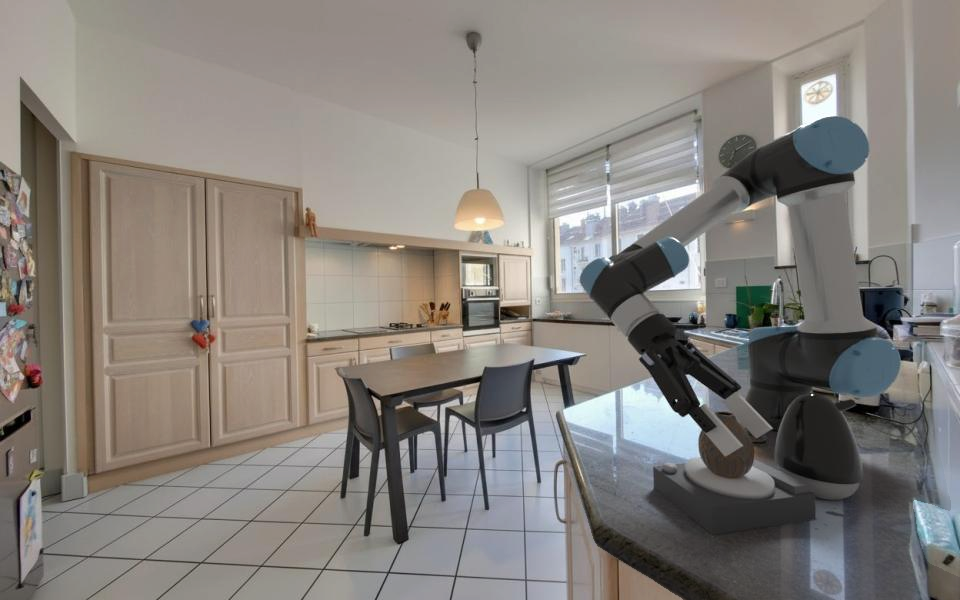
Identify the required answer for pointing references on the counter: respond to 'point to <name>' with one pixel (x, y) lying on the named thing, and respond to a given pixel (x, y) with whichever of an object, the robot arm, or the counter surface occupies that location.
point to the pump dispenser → (819, 446)
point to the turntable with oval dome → (735, 496)
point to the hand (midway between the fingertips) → (750, 441)
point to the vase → (734, 462)
